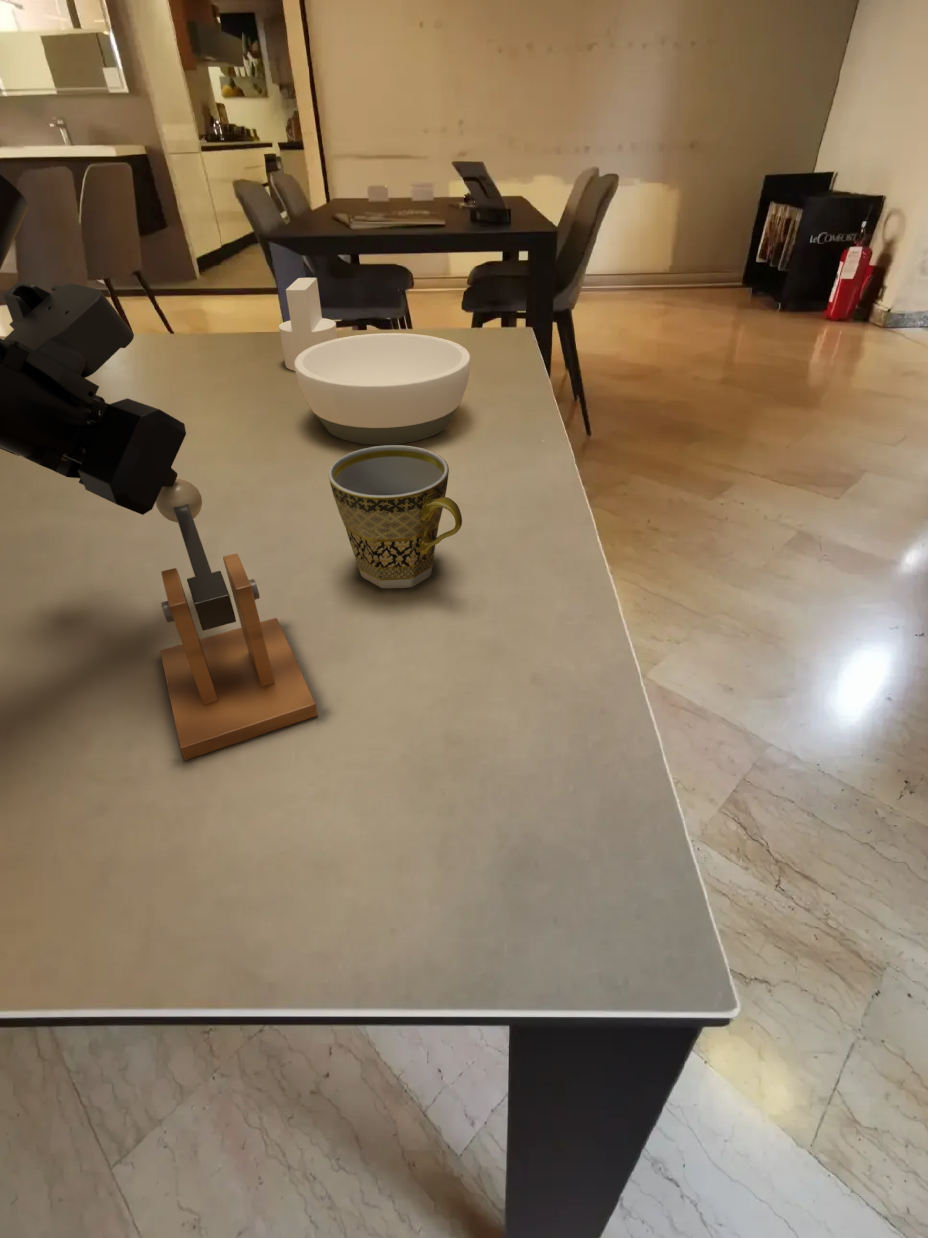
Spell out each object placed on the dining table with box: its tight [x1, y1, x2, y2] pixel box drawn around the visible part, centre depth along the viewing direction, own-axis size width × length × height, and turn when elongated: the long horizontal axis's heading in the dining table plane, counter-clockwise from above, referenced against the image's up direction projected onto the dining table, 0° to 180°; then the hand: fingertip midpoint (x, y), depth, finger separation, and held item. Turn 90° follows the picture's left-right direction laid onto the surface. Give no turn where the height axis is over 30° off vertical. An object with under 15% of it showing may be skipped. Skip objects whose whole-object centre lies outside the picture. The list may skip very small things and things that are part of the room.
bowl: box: [294, 332, 471, 446], centre depth 88 cm, size 22×22×8 cm
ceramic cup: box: [328, 444, 463, 589], centre depth 58 cm, size 13×10×10 cm
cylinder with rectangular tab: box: [278, 277, 339, 372], centre depth 107 cm, size 9×9×12 cm
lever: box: [155, 478, 237, 632], centre depth 49 cm, size 16×3×3 cm, turn 26°
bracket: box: [159, 553, 319, 761], centre depth 46 cm, size 11×9×10 cm
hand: (172, 478), depth 52 cm, fingers closed
